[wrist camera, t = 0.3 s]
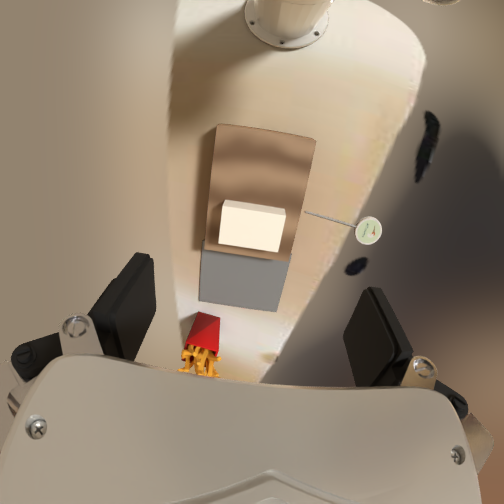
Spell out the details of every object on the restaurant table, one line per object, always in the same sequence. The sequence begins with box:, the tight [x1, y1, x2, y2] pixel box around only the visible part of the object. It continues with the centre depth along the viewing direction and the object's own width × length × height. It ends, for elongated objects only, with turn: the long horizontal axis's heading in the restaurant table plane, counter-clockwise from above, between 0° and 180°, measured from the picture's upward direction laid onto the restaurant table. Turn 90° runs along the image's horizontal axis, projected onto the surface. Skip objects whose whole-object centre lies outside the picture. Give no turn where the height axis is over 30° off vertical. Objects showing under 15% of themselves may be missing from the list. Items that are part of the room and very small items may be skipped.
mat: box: [199, 240, 292, 312], centre depth 52 cm, size 14×16×1 cm
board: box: [204, 124, 316, 262], centre depth 42 cm, size 20×14×4 cm
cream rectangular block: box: [219, 200, 286, 252], centre depth 41 cm, size 6×9×3 cm, turn 81°
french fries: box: [177, 312, 221, 378], centre depth 51 cm, size 9×8×15 cm
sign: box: [305, 211, 382, 245], centre depth 45 cm, size 5×1×15 cm
